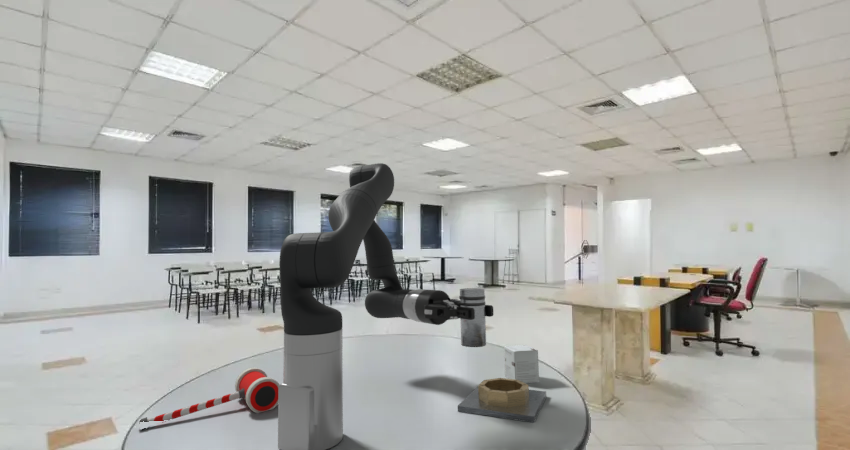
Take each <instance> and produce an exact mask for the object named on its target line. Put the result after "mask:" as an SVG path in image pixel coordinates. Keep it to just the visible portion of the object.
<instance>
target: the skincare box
mask: <svg viewBox="0 0 850 450" xmlns="http://www.w3.org/2000/svg"><path fill="white" fill-rule="evenodd" d="M503 349H504V351H503V352H504V356H503V357H504V378H506V379H516V380H519V381H521V382H523V383H525V384H532V383H539V382H540V371H539V350H538V349H536V348H535V347H532V346H530V345H527V344H519V345H518V344H517V345H516V344H515V345H504V346H503Z"/></svg>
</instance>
